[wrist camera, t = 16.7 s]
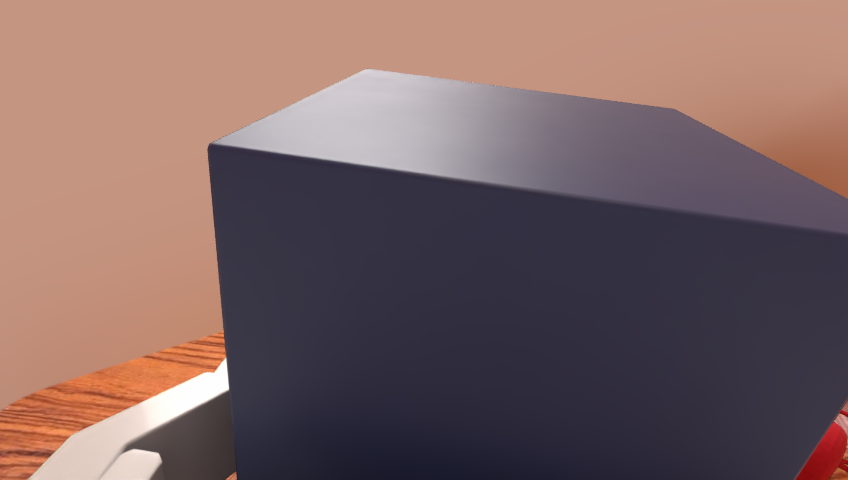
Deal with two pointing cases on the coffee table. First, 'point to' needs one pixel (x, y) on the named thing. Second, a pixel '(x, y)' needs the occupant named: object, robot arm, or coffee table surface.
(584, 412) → the dark blue l-shaped block
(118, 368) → the coffee table surface
